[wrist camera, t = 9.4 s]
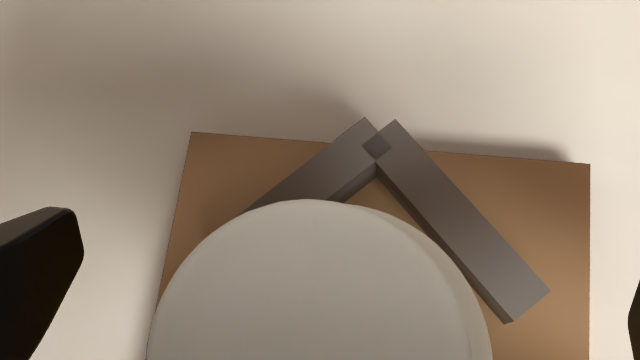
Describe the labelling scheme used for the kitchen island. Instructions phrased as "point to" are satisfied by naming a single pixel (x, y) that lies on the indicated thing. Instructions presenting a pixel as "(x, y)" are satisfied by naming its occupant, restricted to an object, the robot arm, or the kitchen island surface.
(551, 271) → the square wooden base plate
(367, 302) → the supplement bottle
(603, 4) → the kitchen island surface
